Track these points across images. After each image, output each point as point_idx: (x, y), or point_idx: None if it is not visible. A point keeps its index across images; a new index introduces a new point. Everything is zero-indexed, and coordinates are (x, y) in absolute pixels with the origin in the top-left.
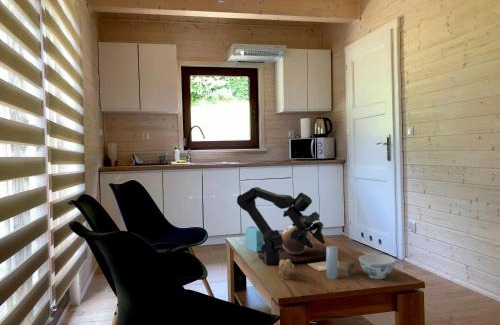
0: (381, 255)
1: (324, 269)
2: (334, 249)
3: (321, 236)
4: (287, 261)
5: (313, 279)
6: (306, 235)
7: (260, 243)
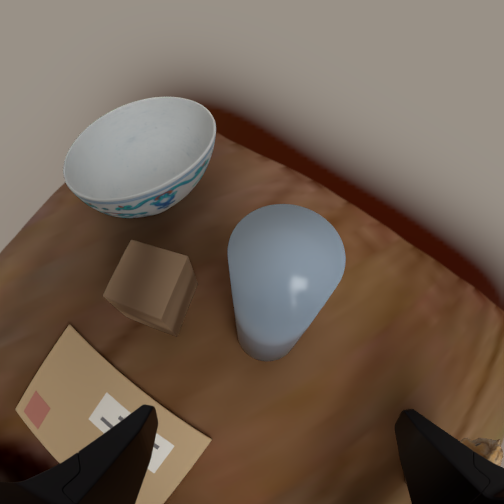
0: (70, 154)
1: (174, 422)
2: (313, 217)
3: (111, 461)
4: (501, 450)
5: (353, 388)
6: (497, 495)
7: None
